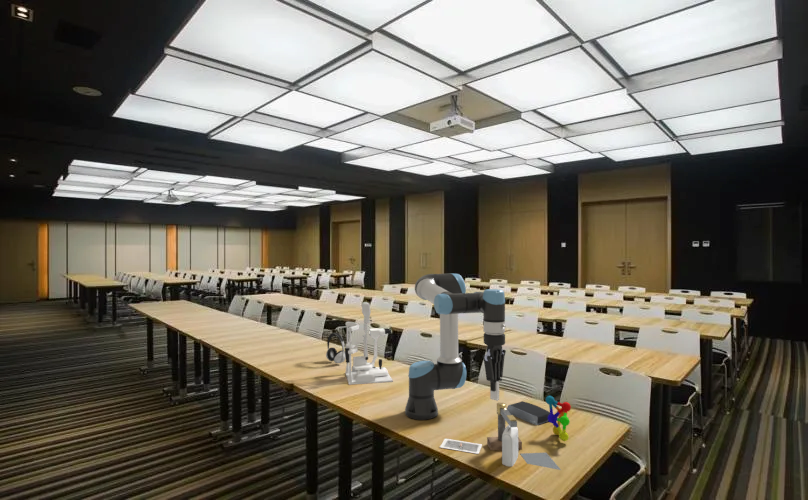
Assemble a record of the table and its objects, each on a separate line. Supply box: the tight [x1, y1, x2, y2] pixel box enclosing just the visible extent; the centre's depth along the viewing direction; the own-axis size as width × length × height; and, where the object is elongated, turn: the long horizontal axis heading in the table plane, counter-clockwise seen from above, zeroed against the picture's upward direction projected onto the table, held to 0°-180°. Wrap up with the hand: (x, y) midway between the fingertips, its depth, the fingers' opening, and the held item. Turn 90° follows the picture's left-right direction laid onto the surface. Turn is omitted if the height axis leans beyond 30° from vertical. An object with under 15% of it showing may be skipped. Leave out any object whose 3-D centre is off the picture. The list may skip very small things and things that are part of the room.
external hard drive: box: [506, 401, 550, 426], centre depth 188 cm, size 12×18×4 cm
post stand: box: [486, 414, 523, 451], centre depth 158 cm, size 12×5×13 cm, turn 94°
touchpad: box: [439, 438, 483, 455], centre depth 158 cm, size 8×15×2 cm, turn 69°
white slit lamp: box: [344, 301, 394, 386], centre depth 247 cm, size 24×27×45 cm
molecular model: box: [545, 395, 572, 442], centre depth 165 cm, size 15×10×15 cm, turn 5°
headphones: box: [325, 332, 346, 364], centre depth 280 cm, size 19×8×20 cm, turn 44°
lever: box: [496, 402, 518, 428], centre depth 151 cm, size 16×4×4 cm, turn 4°
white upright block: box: [501, 424, 519, 467], centre depth 148 cm, size 10×4×12 cm, turn 152°
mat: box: [520, 452, 562, 471], centre depth 145 cm, size 10×14×1 cm
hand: (494, 399), depth 146 cm, fingers closed
